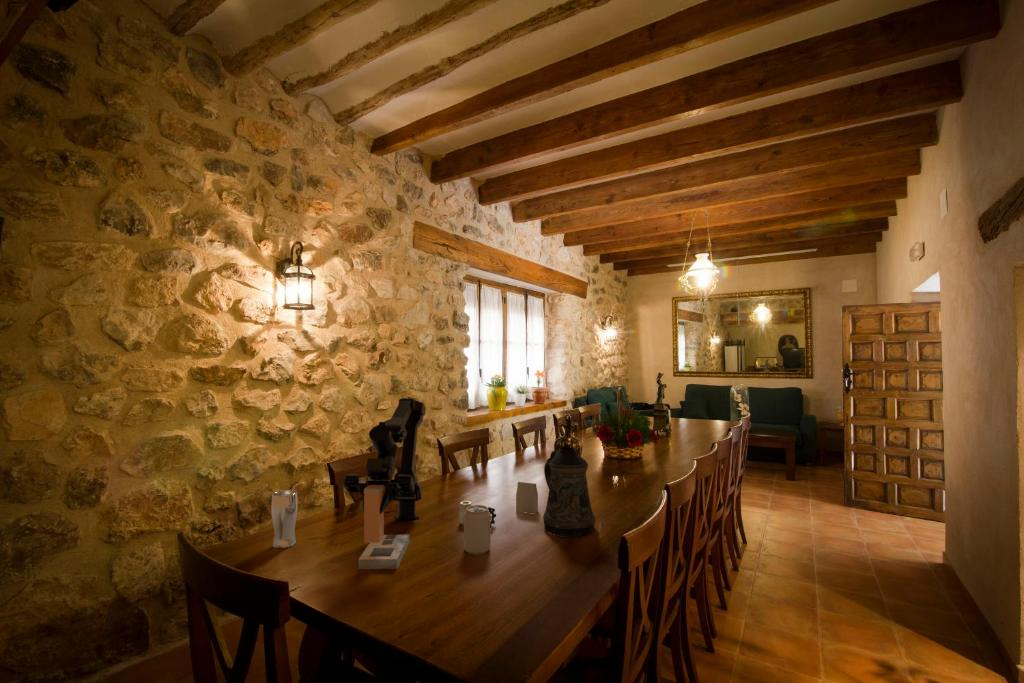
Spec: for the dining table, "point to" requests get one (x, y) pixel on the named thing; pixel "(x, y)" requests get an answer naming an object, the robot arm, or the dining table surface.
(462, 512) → the valve
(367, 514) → the square peg
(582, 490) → the beer stein
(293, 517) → the beer glass
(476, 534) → the can
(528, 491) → the tea bag
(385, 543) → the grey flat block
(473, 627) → the dining table surface
